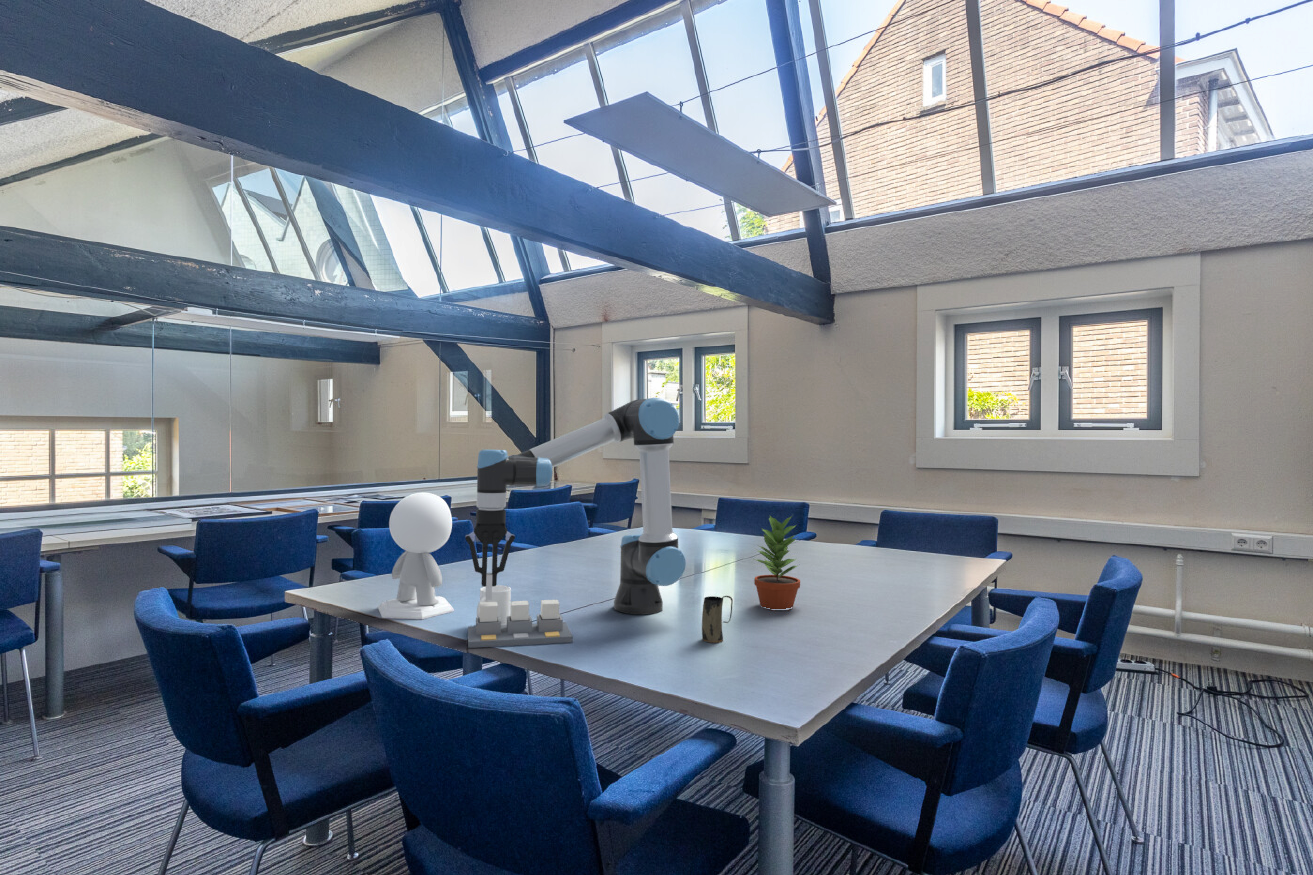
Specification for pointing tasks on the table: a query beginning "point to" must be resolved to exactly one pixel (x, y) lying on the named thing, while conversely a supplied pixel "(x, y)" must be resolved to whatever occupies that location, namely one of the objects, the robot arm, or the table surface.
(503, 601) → the mug
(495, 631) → the board
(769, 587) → the potted plant
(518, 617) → the button
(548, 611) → the button
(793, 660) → the table surface
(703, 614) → the mug
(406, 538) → the white toy figurine
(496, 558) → the robot arm
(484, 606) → the button
